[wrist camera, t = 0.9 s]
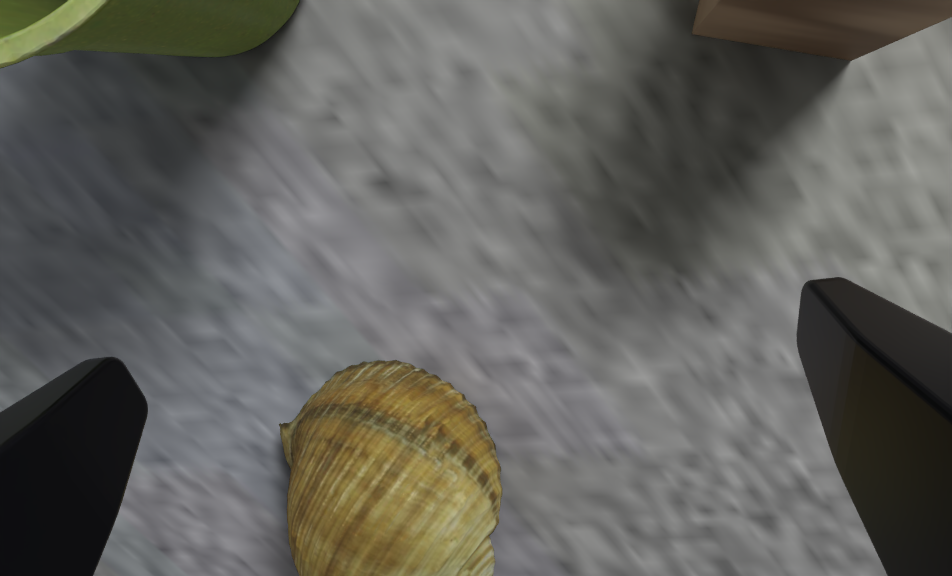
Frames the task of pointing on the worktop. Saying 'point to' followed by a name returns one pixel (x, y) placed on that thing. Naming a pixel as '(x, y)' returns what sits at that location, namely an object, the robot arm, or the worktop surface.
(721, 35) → the walnut block
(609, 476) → the worktop surface
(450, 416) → the seashell
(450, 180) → the worktop surface
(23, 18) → the plant pot
